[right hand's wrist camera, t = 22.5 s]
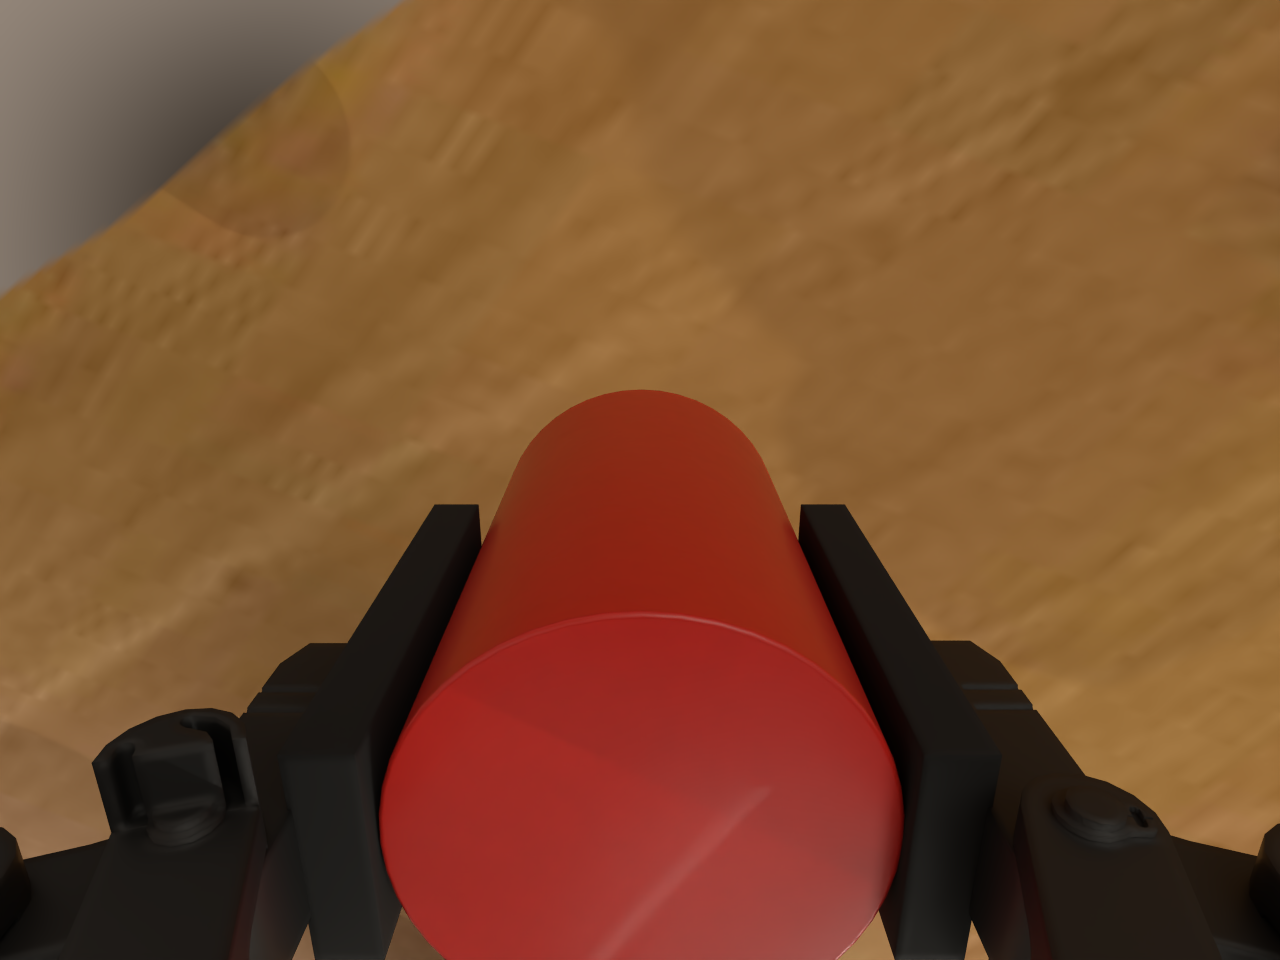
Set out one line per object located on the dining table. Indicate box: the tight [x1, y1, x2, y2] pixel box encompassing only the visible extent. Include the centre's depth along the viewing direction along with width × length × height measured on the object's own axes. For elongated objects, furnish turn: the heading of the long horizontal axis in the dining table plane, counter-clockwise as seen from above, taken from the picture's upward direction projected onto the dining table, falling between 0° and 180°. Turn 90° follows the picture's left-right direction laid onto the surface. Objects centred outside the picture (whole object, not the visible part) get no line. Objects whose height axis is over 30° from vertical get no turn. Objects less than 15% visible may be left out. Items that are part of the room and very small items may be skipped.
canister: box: [379, 390, 905, 960], centre depth 13 cm, size 6×6×9 cm
